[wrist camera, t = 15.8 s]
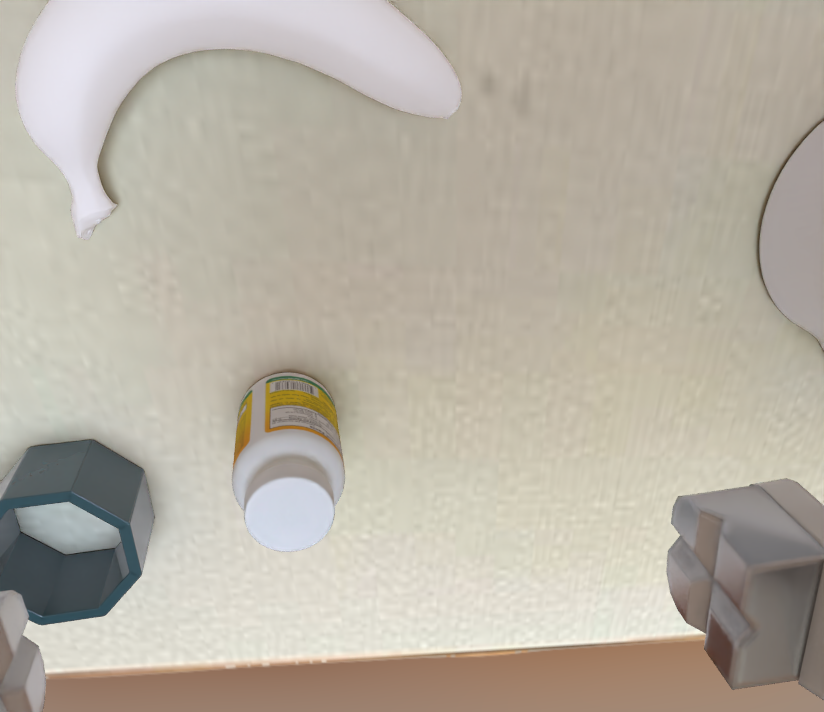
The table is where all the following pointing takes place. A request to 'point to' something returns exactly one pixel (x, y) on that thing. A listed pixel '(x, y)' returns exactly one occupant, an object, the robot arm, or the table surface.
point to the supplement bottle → (288, 461)
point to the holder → (93, 492)
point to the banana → (196, 31)
